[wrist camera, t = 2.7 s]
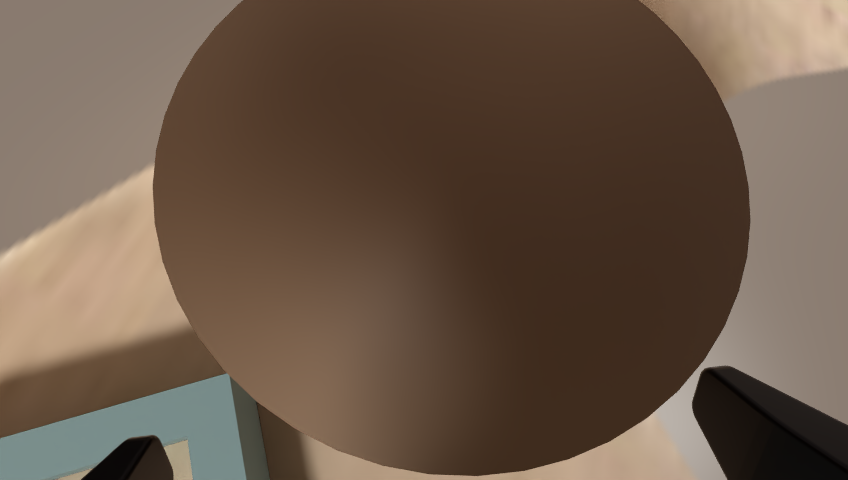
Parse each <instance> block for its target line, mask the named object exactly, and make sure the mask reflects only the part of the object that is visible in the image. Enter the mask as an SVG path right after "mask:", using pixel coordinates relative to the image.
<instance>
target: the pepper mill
mask: <svg viewBox="0 0 848 480" xmlns="http://www.w3.org/2000/svg"><path fill="white" fill-rule="evenodd" d="M153 199H154V217H155V227H156V231H157V236H158V241H159V246H160V250H161V255H162V260H163V263H164V266H165V269H166V271H167V274H168V277H169V279H170V282H171V285H172V287H173V290H174V293H175V295H176V298H177V300H178V302H179V304H180V306H181V308H182V309H183V311H184V313H185V315H186V317H187V318H188V320H189V322H190V324H191V325H192V327H193V329H194V331H195V333H196V334H197V336H198V338H199V339H200V340H201V341H202V343H203V344H204V345H205V347H206V348H207V349H208V350H209V352H210V353H211V354H212V356H213V357H214V358H215V359H216V361H217V362H218V363H219V365H220V366H221V367H222V368H223V370H224V371H225V372H226V373H227V374H228V375H229V376H230V377H231V378H232V379H233V380H234V381H236V382H237V383H238V384H239V385H240V386H241V387H242V388H243V389H244V390H245V391H246V392H247V393H248V394H249V395H250V396H251V397H252V398H253V399H254V400H255V401H257V402H258V403H259V404H261V405H262V406H263V407H265V408H266V409H268V410H269V411H270V412H272V413H273V414H275V415H276V416H278V417H279V418H280V419H282V420H283V421H285V422H286V423H287V424H289V425H290V426H292V427H293V428H295V429H296V430H298V431H300V432H302V433H304V434H306V435H308V436H310V437H312V438H314V439H316V440H318V441H320V442H322V443H324V444H326V445H328V446H330V447H332V448H334V449H336V450H338V451H341V452H344V453H347V454H350V455H353V456H356V457H359V458H362V459H365V460H368V461H371V462H374V463H377V464H380V465H383V466H388V467H393V468H399V469H404V470H410V471H415V472H421V473H426V474H439V475H467V476H481V475H490V474H499V473H508V472H517V471H525V470H529V469H533V468H537V467H540V466H544V465H548V464H552V463H556V462H559V461H563V460H567V459H570V458H572V457H575V456H577V455H579V454H582V453H584V452H586V451H589V450H591V449H593V448H595V447H598V446H600V445H602V444H605V443H607V442H609V441H611V440H613V439H614V438H616V437H617V436H619V435H621V434H622V433H624V432H625V431H627V430H629V429H630V428H632V427H633V426H635V425H637V424H638V423H640V422H641V421H643V420H645V419H646V418H647V417H649V416H650V415H651V414H652V413H653V412H654V411H656V410H657V409H658V408H659V407H660V406H661V405H662V404H664V403H665V402H666V401H667V400H668V399H669V398H670V397H671V396H673V395H674V394H675V393H676V392H677V391H678V390H679V389H680V388H681V387H682V386H683V384H684V383H685V382H686V381H687V379H688V378H689V377H690V376H691V375H692V374H693V372H694V371H695V370H696V369H697V368H698V367H699V365H700V364H701V363H702V362H703V361H704V359H705V358H706V356H707V354H708V353H709V351H710V349H711V348H712V346H713V344H714V343H715V341H716V340H717V338H718V336H719V335H720V333H721V331H722V329H723V328H724V326H725V324H726V321H727V319H728V316H729V314H730V311H731V309H732V306H733V304H734V302H735V299H736V297H737V294H738V292H739V288H740V283H741V280H742V275H743V271H744V267H745V263H746V259H747V251H748V240H749V229H750V207H749V188H748V182H747V176H746V171H745V166H744V161H743V156H742V151H741V148H740V145H739V142H738V139H737V137H736V133H735V131H734V127H733V124H732V122H731V119H730V117H729V115H728V112H727V110H726V108H725V106H724V104H723V102H722V100H721V98H720V96H719V94H718V92H717V90H716V88H715V87H714V85H713V83H712V82H711V80H710V79H709V77H708V76H707V74H706V72H705V71H704V69H703V68H702V66H701V65H700V63H699V62H698V60H697V59H696V58H695V57H694V55H693V54H692V53H691V52H690V50H689V49H688V48H687V47H686V46H685V44H684V43H683V42H682V41H681V39H680V38H679V37H678V36H677V35H676V34H675V33H674V32H673V31H672V30H671V29H670V28H669V27H668V26H667V25H666V24H665V23H664V22H663V21H662V20H661V19H660V18H659V17H658V16H657V15H656V14H655V13H654V12H652V11H651V10H650V9H649V8H647V7H646V6H645V5H644V4H642V3H641V2H640V1H639V0H243V1H242V2H241V3H240V4H238V5H237V6H236V7H235V8H234V9H233V10H232V11H231V12H230V13H229V14H228V15H227V17H225V18H224V19H223V20H222V21H221V22H220V23H219V24H218V25H217V26H216V27H215V28H214V30H213V31H212V32H211V34H210V35H209V36H208V38H207V39H206V40H205V42H204V43H203V44H202V45H201V46H200V48H199V49H198V51H197V52H196V53H195V55H194V56H193V58H192V60H191V61H190V63H189V65H188V67H187V68H186V70H185V72H184V74H183V75H182V77H181V79H180V80H179V82H178V84H177V86H176V89H175V92H174V94H173V96H172V99H171V101H170V104H169V106H168V109H167V111H166V114H165V116H164V120H163V125H162V129H161V133H160V137H159V141H158V145H157V149H156V158H155V168H154V179H153Z"/></svg>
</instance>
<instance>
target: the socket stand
mask: <svg viewBox="0 0 848 480" xmlns="http://www.w3.org/2000/svg"><path fill="white" fill-rule="evenodd" d="M147 435H155V436H157V437H158V438H159V439H160V441H161V443H162V445H163V447H164V446H167V445H170V444H174V443H177V442H180V441H183V440H187V439H188V445H189V453H190V460H191V468H192V475H193V480H270V477H269V471H268V465H267V460H266V454H265V449H264V443H263V437H262V432H261V426H260V420H259V415H258V409H257V404H256V401H255V400H254V399H253V398H252V397H251V396H250V395H249V394H248V393H247V392H246V391H245V390H244V389H243V388H242V387H241V386H240V385H239V384H238V383H237V382H236V381H234V380H233V379H232V378H231V377H230V376H229V375H228V374H227V373H226V374H223V375H219V376H216V377H212V378H209V379H205V380H202V381H198V382H195V383H191V384H188V385H184V386H181V387H177V388H174V389H170V390H167V391H163V392H160V393H156V394H153V395H149V396H146V397H142V398H139V399H136V400H132V401H129V402H125V403H122V404H118V405H115V406H111V407H108V408H104V409H101V410H97V411H94V412H90V413H87V414H83V415H80V416H76V417H73V418H69V419H66V420H62V421H59V422H55V423H52V424H48V425H45V426H41V427H38V428H34V429H31V430H28V431H24V432H21V433H17V434H14V435H10V436H7V437H3V438H0V480H55V479H58V478H61V477H64V476H68V475H71V474H74V473H78V472H81V471H84V470H88V469H91V468H94V467H96V466H97V465H98V464H99V463H100V462H101V461H102V460H103V459H104V458H105V457H107V456H108V455H109V454H110V453H111V452H112V451H113V450H114V449H115V448H117V447H118V446H119V445H120V444H121V443H122V442H123V441H125V440H126V439H128V438H131V437H139V436H147Z"/></svg>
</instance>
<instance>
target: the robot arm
mask: <svg viewBox="0 0 848 480" xmlns="http://www.w3.org/2000/svg"><path fill="white" fill-rule="evenodd" d="M692 409H693V413H694V416H695V418H696V420H697V422H698V424H699V426H700V428H701V430H702V432H703V434H704V436H705V437H706V439H707V441H708V443H709V445H710V447H711V449H712V451H713V453H714V455H715V457H716V459H717V461H718V462H719V464H720V466H721V468H722V470H723V472H724V474H725V476H726V477H727V480H848V425H846V424H844V423H842V422H840V421H838V420H836V419H834V418H832V417H830V416H828V415H826V414H824V413H822V412H821V411H819V410H816V409H815V408H813V407H810V406H808V405H807V404H805V403H802V402H801V401H799V400H797V399H795V398H793V397H791V396H789V395H787V394H785V393H783V392H781V391H779V390H777V389H775V388H773V387H771V386H769V385H767V384H765V383H763V382H761V381H759V380H757V379H755V378H753V377H751V376H749V375H747V374H745V373H743V372H741V371H739V370H737V369H735V368H733V367H730V366H718V367H709V368H705V369H704V370H703V371H702V372H701V374H700V377H699V381H698V384H697V387H696V391H695V394H694V397H693V401H692ZM81 480H173V469H172V466H171V464H170V462H169V459H168V457H167V455H166V452H165V450H164V448H163V445H162V443H161V441H160V439H159V438H158V437H157V436H155V435H147V436H139V437H131V438H128V439H126V440H125V441H123V442H122V443H121V444H120V445H119V446H118V447H117V448H115V449H114V450H113V451H112V452H111V453H110V454H109V455H108V456H107V457H105V458H104V459H103V460H102V461H101V462H100V463H99V464H98V465H97V466H96V467H94V468H93V469H92V470H91V471H90V472H89V473H88V474H87V475H86V476H84V477H83V478H82V479H81Z"/></svg>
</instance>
